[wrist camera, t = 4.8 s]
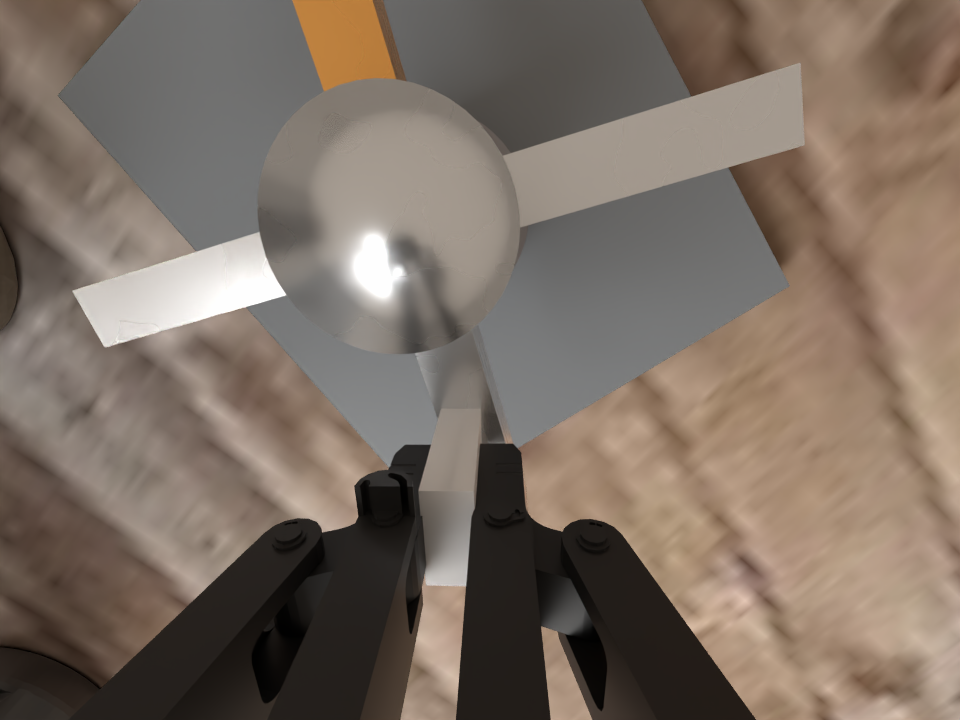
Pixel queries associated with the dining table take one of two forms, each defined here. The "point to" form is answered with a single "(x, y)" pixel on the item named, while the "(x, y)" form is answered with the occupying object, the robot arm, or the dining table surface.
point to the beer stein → (7, 282)
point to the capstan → (425, 206)
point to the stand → (513, 127)
